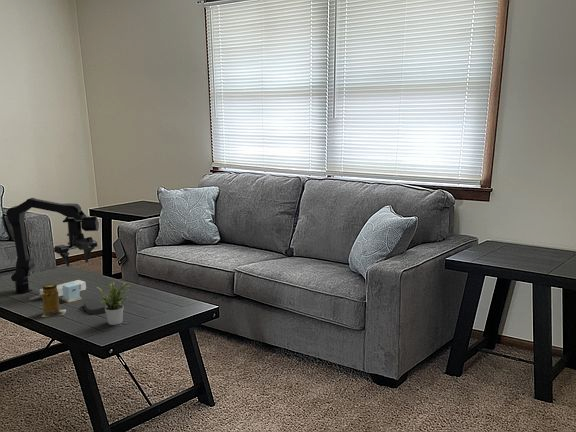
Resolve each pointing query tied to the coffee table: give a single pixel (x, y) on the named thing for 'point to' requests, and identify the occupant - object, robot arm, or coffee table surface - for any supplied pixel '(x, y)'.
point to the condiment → (51, 301)
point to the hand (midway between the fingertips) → (77, 264)
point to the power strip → (60, 289)
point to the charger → (71, 291)
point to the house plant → (114, 304)
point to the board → (71, 300)
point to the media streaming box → (96, 305)
